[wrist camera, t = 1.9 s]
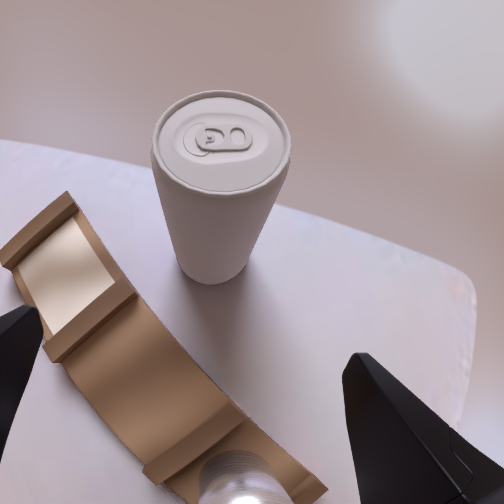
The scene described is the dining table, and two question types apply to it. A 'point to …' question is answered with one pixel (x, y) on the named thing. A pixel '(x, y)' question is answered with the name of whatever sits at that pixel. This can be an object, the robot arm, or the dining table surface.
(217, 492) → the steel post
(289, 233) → the dining table surface
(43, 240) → the walnut rail
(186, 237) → the beverage can
